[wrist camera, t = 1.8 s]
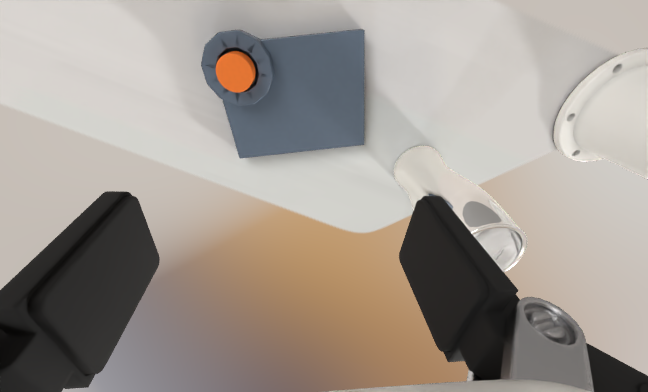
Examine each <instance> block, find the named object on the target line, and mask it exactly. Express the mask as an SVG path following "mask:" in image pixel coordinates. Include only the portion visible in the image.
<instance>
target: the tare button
mask: <svg viewBox="0 0 648 392" xmlns="http://www.w3.org/2000/svg"><path fill="white" fill-rule="evenodd" d="M216 75H217V78H218V80H219V82H220V83H221V85H222V86H223V87H224V88H226V89H227V90H229V91H232V92H243V91H245V90H247V89H248V88H249V87H250V85H251V84H252V83H253V81H254V79H255V75H256V70H255V66H254V64H253V62H252V60H251V59H250V58H249V57H248V56H247V55H246V54H244V53H242V52H239V51H232V52H229V53H227V54H225V55H223V56H222V57H221V58H220V59H219V60H218V62H217V64H216Z"/></svg>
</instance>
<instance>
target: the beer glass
mask: <svg viewBox="0 0 648 392" xmlns="http://www.w3.org/2000/svg"><path fill="white" fill-rule="evenodd" d="M394 177H395V180H396V181H397V183H398V184H399V185H400V186H401V187H402V188H403V189H404V190H405V191H406V192H407V193H408V196H409V198H410V201H411V205H412V209H413V211H414V208H415V205H416V203H417V201H418V200H421V198H422V197H423V196H441V197H442V198H443V199H444V200H445V201H446V203H447V204H448V205H449V206H450V208H451V209H452V210H453V211H454V212H455V214H456V215H457V216H458V217H459V219H460V220H461V221H462V222H463V223H464V225H465V226H466V227H467V228H468V230H469V231H470V232H471V233H472V234H473V236H474V237H475V238H476V239H477V241H478V242H479V243H480V244H481V245H482V247H483V248H484V249H485V250H486V252H487V253H488V254H489V255H490V256H491V258H492V259H493V260H494V261H495V263H496V264H497V265H498V266H499V267H500V269H501V270H502V271H503V272H505V271H507V270H508V269H510V268H511V267H512V266H513V265H515V264H516V262H518V261H519V260H520V258H521V257H522V256H523V254H524V252H525V250H526V247H527V237H526V235H525V233H524V232H523V231H522V230H521V229H520V228H519V227H518V226H517V225H516V223H515V222H514V221H513V220H512V218H511V217H510V216H509V215H508V214H507V213H506V211H505V210H504V209H503V208H502V207H501V206H500V205H499V204H498V203H497V202H496V201H495V200H494V199H493V198H492V197H491V196H490V195H489V194H488V193H486V192H485V191H484V190H483V189H482V188H480V187H479V186H477V185H476V184H475V183H473V182H472V181H470V180H468V179H467V178H465V177H463V176H462V175H460V174H458V173H456V172H455V171H453V170H451V169H450V168H449V167H448V166H447V165H446V164H445V162H444V160H443V158H442V156H441V155H440V153H439V152H438V151H437V150H436V149H434V148H432V147H430V146H416V147H413V148H411V149H409V150H407V151H406V152H404V153H403V154H402V155H401V156H400V157H399V158H398V160H397V162H396V164H395V166H394Z"/></svg>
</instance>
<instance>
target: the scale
mask: <svg viewBox="0 0 648 392" xmlns="http://www.w3.org/2000/svg"><path fill="white" fill-rule="evenodd" d="M232 51H239V52H242V53H244V54H246V55H247V56H248V57H249V58H250V59H251V60H252V62H253V64H254V66H255V70H256V75H255V79H254V81H253V83H252V84H251V85H250V87H249V88H248V89H247V90H245V91H243V92H232V91H229V90H227V89H226V88H224V87H223V86H222V85H221V83H220V82H219V80H218V78H217V75H216V64H217V62H218V60H219V59H220V58H221V57H222V56H223V55H225V54H227V53H229V52H232ZM201 64H202V65H201V66H202V69H203V72H204V75H205V79H206V82H207V84H208V85H209V86H210V88H211V89H212V90H213V91H214V92H215V93H216V94H217V95H218V96H219V97H220V98H221V99H223V103H224V106H225V109H226V113H227V116H228V120H229V123H230V127H231V130H232V133H233V137H234V140H235V144H236V147H237V151H238V154H239V157H240V158H247V157H257V156H266V155H275V154H284V153H293V152H302V151H311V150H320V149H329V148H339V147H348V146H357V145H364V30H363V29H357V30H347V31H338V32H328V33H319V34H309V35H299V36H290V37H280V38H271V39H261V40H260V39H259V38H257V37H255V36H253V35H251V34H249V33H247V32H245V31H243V30H232V31H223V32H219V33H217V34H216V35H215V36H214V37H213V38H212V39H211V40H210V41H209V42H208V43H207V44H206V45H205V47H204V52H203V57H202V62H201Z"/></svg>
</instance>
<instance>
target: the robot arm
mask: <svg viewBox="0 0 648 392" xmlns="http://www.w3.org/2000/svg"><path fill="white" fill-rule="evenodd" d="M553 137H554V142H555V145H556V147H557V149H558V151H560V152H561V153H562V154H563V155H565V156H566V157H568V158H570V159H572V160H576V161H581V162H590V161H597V160H601V159H606V160H608V161H610V162H612V163H614V164H616V165H618V166H620V167H622V168H625V169H627V170H629V171H631V172H633V173H635V174H637V175H639V176H642V177H644V178H646V179H648V48H642V49H636V50H633V51H629V52H625V53H623V54H621V55H619V56H617V57H614V58H612V59H611V60H609V61H607V62H606V63H604V64H603V65H601V66H599V67H598V68H597V69H596V70H594V71H593V72H592V73H591V74H589V75H588V76H587V77H586V78H585V79H584V80H583V81H582V82H581V83H580V84H579V85H578V86H577V87H576V88H575V89H574V90H573V92H572V93H571V94H570V95H569V97H568V98H567V100H566V101H565V103H564V104H563V106H562V108H561V110H560V112H559V114H558V116H557V119H556V122H555V126H554V135H553ZM399 259H400V263H401V265H402V267H403V270H404V272H405V274H406V276H407V279H408V281H409V283H410V286H411V288H412V290H413V293H414V295H415V297H416V300H417V302H418V304H419V306H420V309H421V311H422V313H423V315H424V318H425V320H426V323H427V325H428V327H429V329H430V331H431V334H432V336H433V339H434V341H435V343H436V345H437V347H438V349H439V350H440V351H443V352H444V354H445V356H446V359H447V361H448V362H456V361H465V362H466V364H467V366H468V368H469V372H468V377H467V381H465V382H447V383H432V384H418V385H406V386H391V387H378V388H366V389H352V390H338V391H325V392H648V376H647V375H645V374H643V373H641V372H639V371H637V370H635V369H634V368H632V367H630V366H628V365H626V364H624V363H623V362H620V361H619V360H617V359H615V358H613V357H611V356H610V355H608V354H606V353H604V352H602V351H600V350H599V349H597V348H595V347H593V346H591V345H589V344H587V343H586V339H585V336H584V333H583V331H582V329H581V328H580V327H579V325H578V324H577V322H576V321H575V320H573V318H571V316H570V315H568V314H567V313H566V312H564V311H563V310H562V309H560V308H559V307H557V306H556V305H554V304H552V303H550V302H548V301H545V300H543V299H540V298H534V297H526V298H523V299H521V300H520V299H519V298H518V297H517V296H516V293H517V292H518V289H517V288H516V287H515V286H514V285H513V283H512V282H511V281H510V280H509V278H508V277H507V276H506V275H505V274H504V272H503V271H502V270H501V269H500V267H499V266H498V265H497V264H496V263H495V261H494V260H493V259H492V258H491V256H490V255H489V254H488V253H487V252H486V250H485V249H484V248H483V247H482V245H481V244H480V243H479V242H478V241H477V239H476V238H475V237H474V236H473V234H472V233H471V232H470V231H469V230H468V228H467V227H466V226H465V225H464V223H463V222H462V221H461V220H460V219H459V217H458V216H457V215H456V214H455V212H454V211H453V210H452V209H451V208H450V206H449V205H448V204H447V203H446V201H445V200H444V199H443V198H442V197H441V196H423V197H422V198H421V200H418V201H417V203H416V205H415V208H414V211H413V214H412V217H411V221H410V223H409V226H408V229H407V232H406V235H405V238H404V241H403V244H402V247H401V250H400V254H399ZM158 265H159V254H158V252H157V249H156V246H155V244H154V241H153V238H152V236H151V233H150V230H149V228H148V225H147V222H146V219H145V217H144V214H143V212H142V209H141V206H140V204H139V201H138V199H137V198H136V197H134V196H132V195H131V194H130V193H129V192H105V193H103V194H102V195H101V196H100V197H99V198H98V199H97V200H96V201H94V202H93V203H92V204H91V205H90V206H89V207H88V208H87V209H86V210H85V211H84V212H83V213H82V214H81V215H80V216H79V217H78V218H76V219H75V220H74V221H73V222H72V223H71V224H70V225H69V226H68V227H67V228H66V229H65V230H64V231H63V232H62V233H61V234H60V235H58V236H57V237H56V238H55V239H54V240H53V241H52V242H51V243H50V244H49V245H48V246H47V247H46V248H45V249H44V250H43V251H42V252H40V253H39V254H38V255H37V256H36V257H35V258H34V259H33V260H32V261H31V262H30V263H29V264H28V265H27V266H26V267H24V268H23V269H22V270H21V271H20V272H19V273H18V274H17V275H16V276H15V277H14V278H13V279H12V280H11V281H10V282H9V283H8V284H6V285H5V286H4V287H3V288H2V289H1V290H0V392H61V391H62V390H63V388H65V389H70V388H84V387H89V385H90V383H91V381H92V379H93V378H94V375H95V374H98V373H99V372H101V371H102V370H103V368H104V366H105V365H106V363H107V361H108V359H109V358H110V356H111V354H112V352H113V350H114V348H115V346H116V345H117V343H118V341H119V339H120V337H121V335H122V333H123V331H124V329H125V328H126V326H127V324H128V322H129V320H130V318H131V316H132V315H133V313H134V311H135V309H136V307H137V305H138V303H139V301H140V300H141V298H142V296H143V294H144V292H145V290H146V288H147V287H148V285H149V283H150V281H151V279H152V277H153V275H154V273H155V272H156V270H157V268H158Z"/></svg>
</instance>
